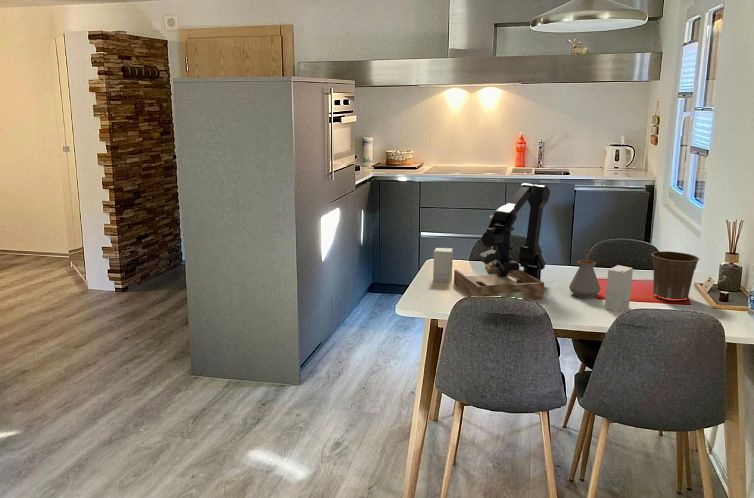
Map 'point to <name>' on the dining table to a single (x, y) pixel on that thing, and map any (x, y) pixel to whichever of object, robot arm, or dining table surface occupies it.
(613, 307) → the skincare box
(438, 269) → the supplement box
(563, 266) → the dining table surface
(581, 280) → the coffee pot
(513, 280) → the birch block
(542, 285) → the box
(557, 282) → the dining table surface
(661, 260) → the plant pot
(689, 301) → the dining table surface
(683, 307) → the dining table surface
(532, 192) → the robot arm
